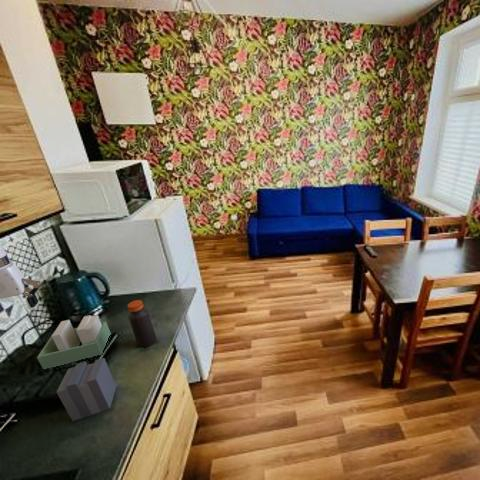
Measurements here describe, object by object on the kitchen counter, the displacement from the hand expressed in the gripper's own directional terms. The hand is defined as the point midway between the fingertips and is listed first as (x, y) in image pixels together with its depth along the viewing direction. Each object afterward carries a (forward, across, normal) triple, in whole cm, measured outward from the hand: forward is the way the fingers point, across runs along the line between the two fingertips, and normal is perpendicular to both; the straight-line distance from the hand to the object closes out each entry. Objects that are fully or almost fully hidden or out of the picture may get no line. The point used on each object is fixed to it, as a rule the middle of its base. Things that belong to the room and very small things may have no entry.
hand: (15, 309), depth 89 cm
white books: (+27, +14, +6) cm, 31 cm away
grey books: (+28, +20, -23) cm, 41 cm away
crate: (+28, +8, +6) cm, 30 cm away
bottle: (+28, +32, +1) cm, 43 cm away
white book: (+28, +6, +6) cm, 29 cm away
